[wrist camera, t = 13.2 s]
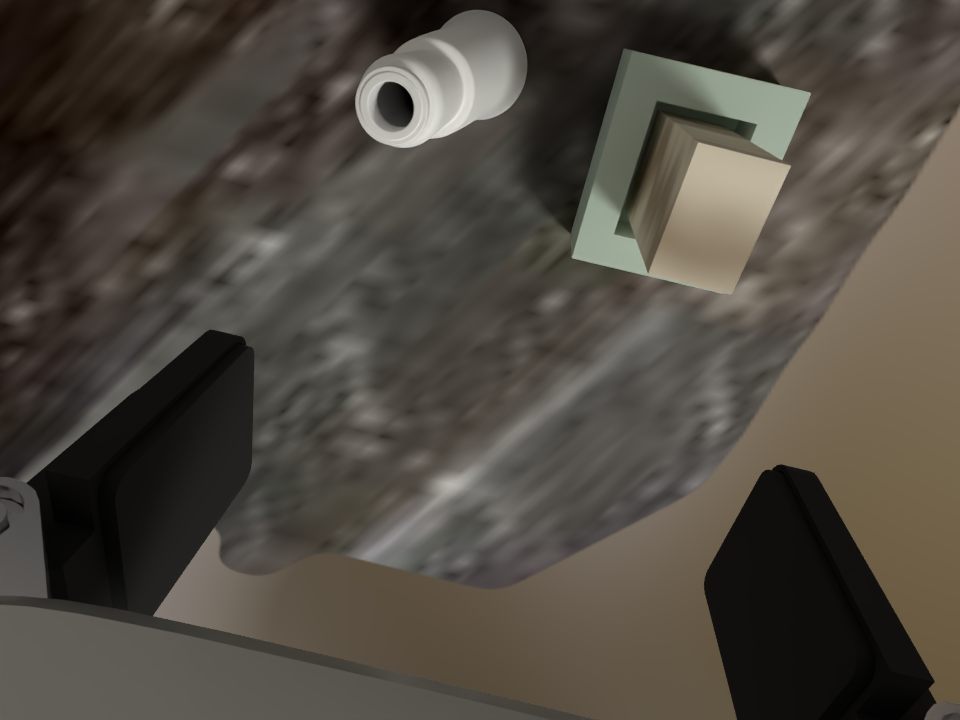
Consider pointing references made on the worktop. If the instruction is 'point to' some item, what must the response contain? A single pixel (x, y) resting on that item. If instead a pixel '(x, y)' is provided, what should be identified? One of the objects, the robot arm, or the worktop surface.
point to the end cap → (627, 125)
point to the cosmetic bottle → (443, 80)
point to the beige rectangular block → (701, 201)
